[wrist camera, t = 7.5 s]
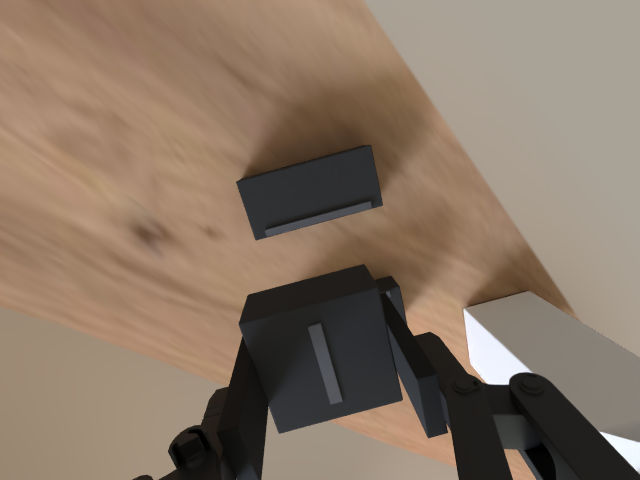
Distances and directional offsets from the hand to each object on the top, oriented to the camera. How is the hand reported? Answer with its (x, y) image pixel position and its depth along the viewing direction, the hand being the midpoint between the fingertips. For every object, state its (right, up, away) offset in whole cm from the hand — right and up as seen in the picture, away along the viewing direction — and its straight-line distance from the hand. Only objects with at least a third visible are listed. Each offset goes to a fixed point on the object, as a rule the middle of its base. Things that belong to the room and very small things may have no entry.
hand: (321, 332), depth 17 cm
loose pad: (0, 0, 0) cm, 0 cm away
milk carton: (+19, -4, +17) cm, 25 cm away
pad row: (+1, +4, +13) cm, 13 cm away
